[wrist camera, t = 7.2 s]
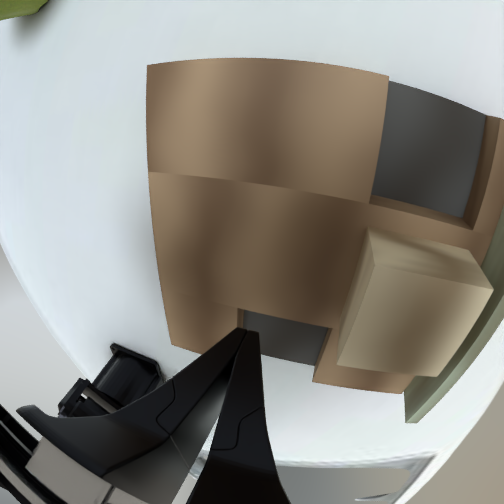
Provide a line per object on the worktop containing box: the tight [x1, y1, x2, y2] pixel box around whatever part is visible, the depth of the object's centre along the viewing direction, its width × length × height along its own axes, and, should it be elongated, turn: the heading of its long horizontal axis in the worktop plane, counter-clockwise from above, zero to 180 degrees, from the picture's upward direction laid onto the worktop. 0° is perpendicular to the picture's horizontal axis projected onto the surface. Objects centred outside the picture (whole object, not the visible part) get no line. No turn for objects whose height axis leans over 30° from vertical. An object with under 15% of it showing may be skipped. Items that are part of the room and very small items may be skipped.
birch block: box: [336, 226, 494, 377], centre depth 12 cm, size 6×6×4 cm
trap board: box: [146, 58, 504, 423], centre depth 14 cm, size 20×20×5 cm
